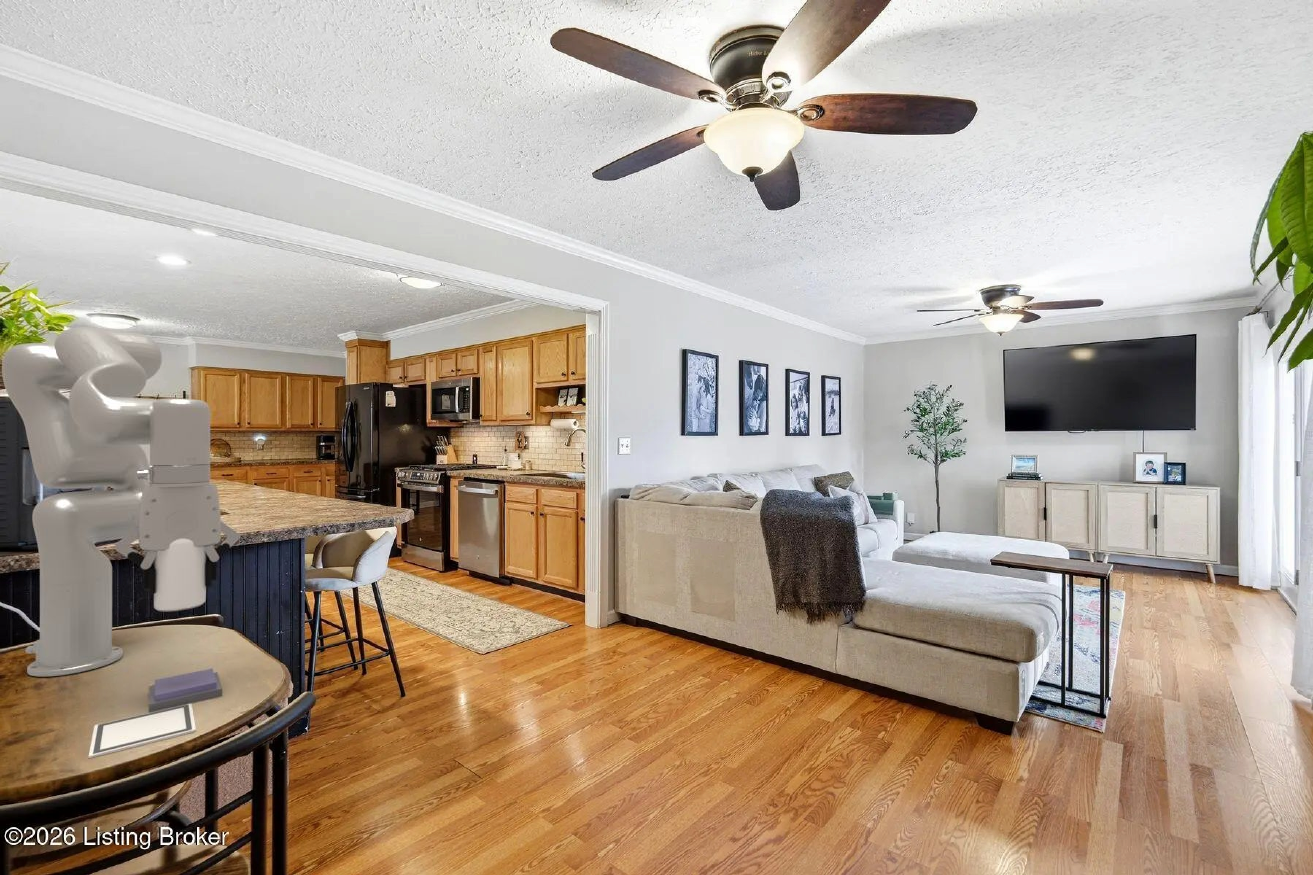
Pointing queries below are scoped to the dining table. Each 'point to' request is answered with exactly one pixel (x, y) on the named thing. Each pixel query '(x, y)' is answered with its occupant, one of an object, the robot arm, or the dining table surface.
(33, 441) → the robot arm
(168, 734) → the marked card
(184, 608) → the can
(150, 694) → the ink pad
